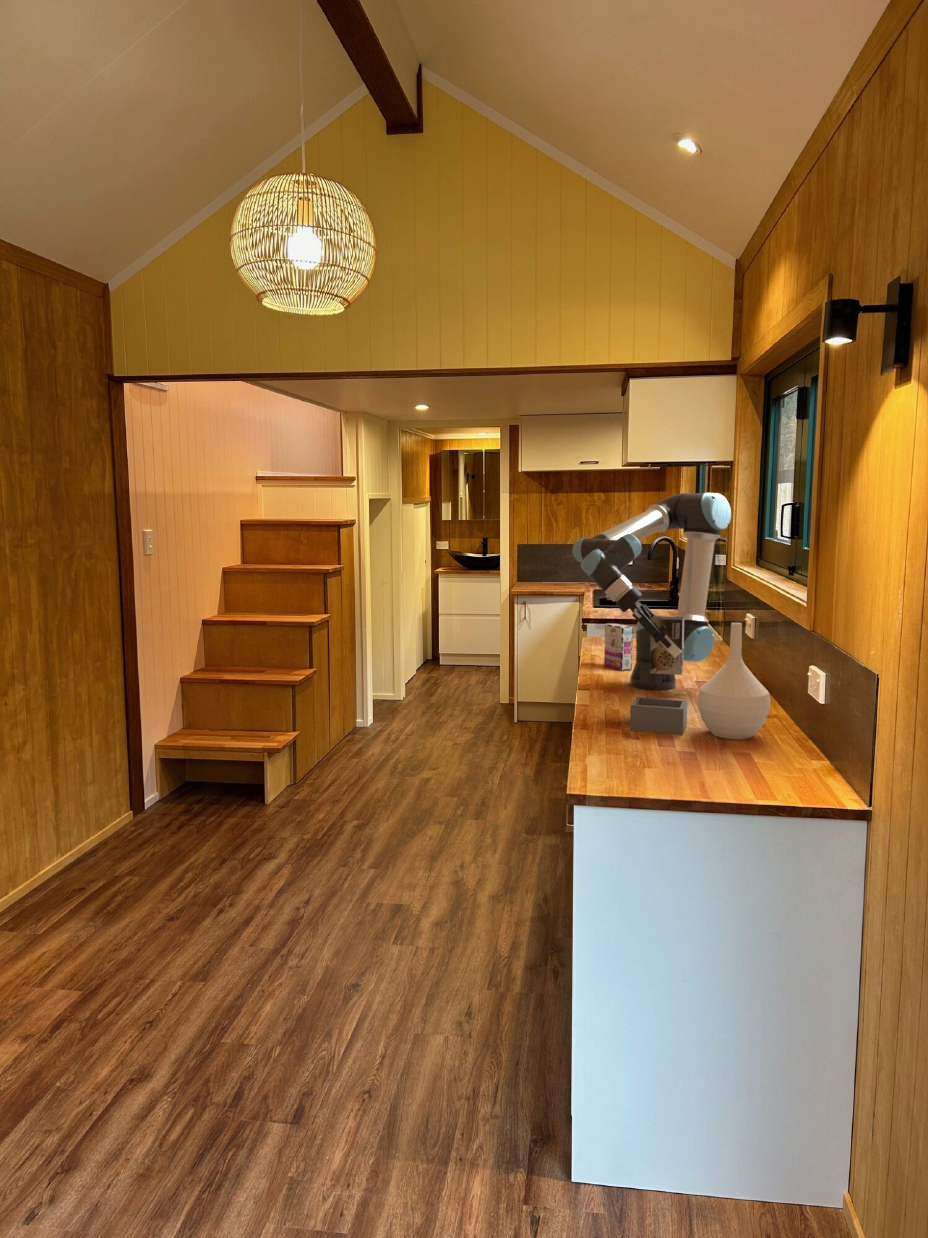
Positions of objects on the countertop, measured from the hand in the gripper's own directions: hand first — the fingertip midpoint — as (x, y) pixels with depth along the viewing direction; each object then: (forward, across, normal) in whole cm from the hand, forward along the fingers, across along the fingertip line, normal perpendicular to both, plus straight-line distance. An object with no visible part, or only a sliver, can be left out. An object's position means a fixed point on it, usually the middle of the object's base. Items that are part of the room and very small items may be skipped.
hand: (679, 652), depth 245 cm
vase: (+24, +16, -2) cm, 29 cm away
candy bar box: (-7, -67, -34) cm, 76 cm away
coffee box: (+2, 0, -7) cm, 7 cm away
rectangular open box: (+11, +16, -16) cm, 24 cm away
